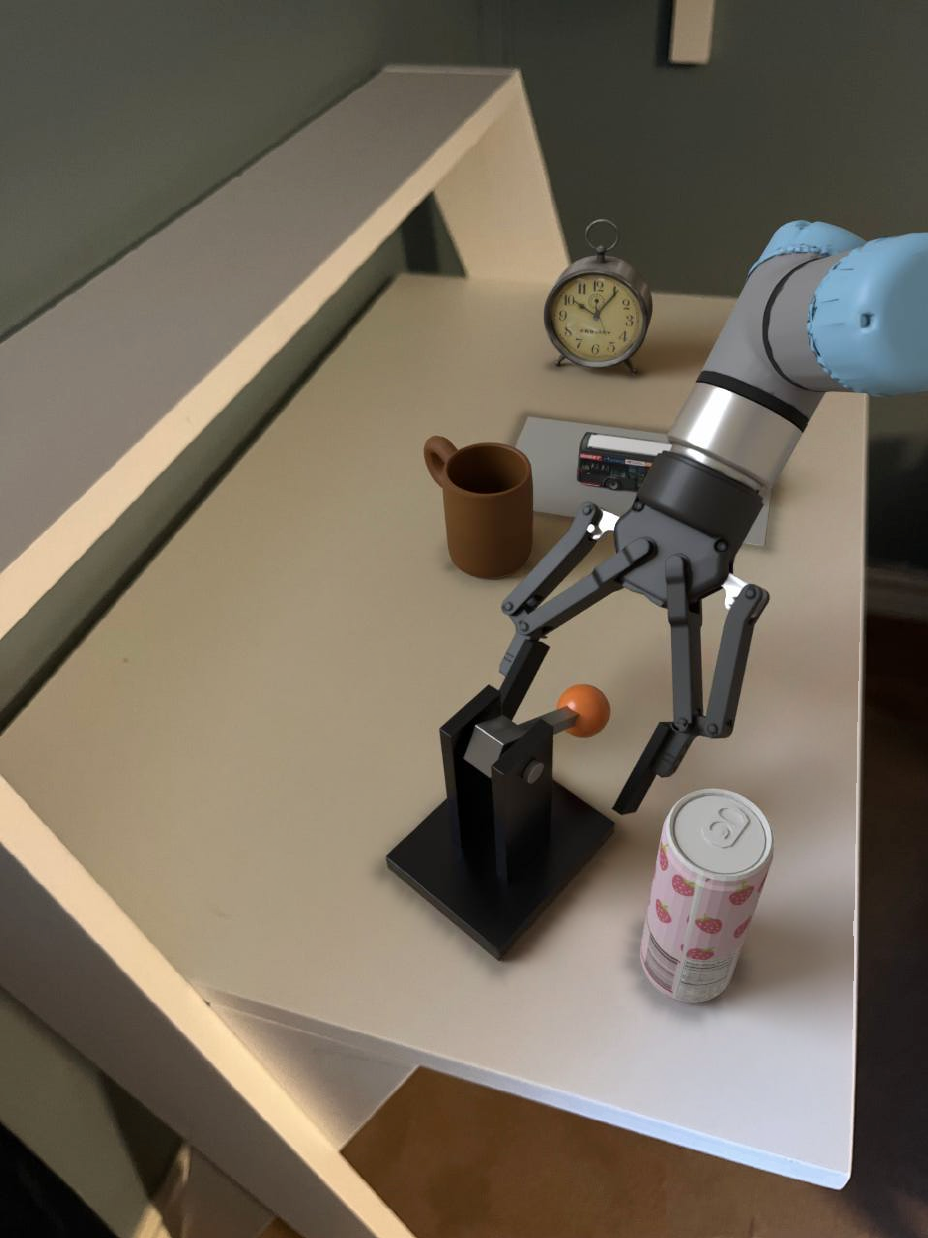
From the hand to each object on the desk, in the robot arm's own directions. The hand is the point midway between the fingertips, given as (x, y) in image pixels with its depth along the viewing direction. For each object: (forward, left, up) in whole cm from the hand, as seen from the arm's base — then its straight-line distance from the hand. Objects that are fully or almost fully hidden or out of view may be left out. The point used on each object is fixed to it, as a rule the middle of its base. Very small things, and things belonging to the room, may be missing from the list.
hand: (557, 765), depth 66 cm
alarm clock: (+39, -40, -4) cm, 56 cm away
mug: (+25, -12, -4) cm, 28 cm away
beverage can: (-14, +2, -4) cm, 15 cm away
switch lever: (0, +2, +4) cm, 5 cm away
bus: (+22, -30, -4) cm, 37 cm away
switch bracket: (-1, +6, -4) cm, 7 cm away
